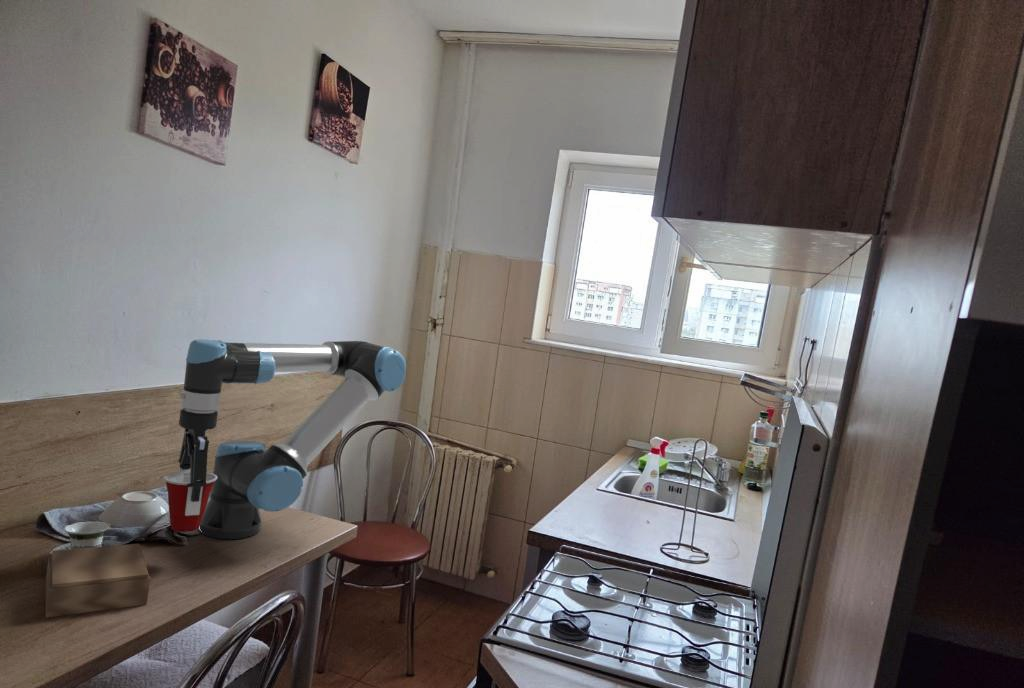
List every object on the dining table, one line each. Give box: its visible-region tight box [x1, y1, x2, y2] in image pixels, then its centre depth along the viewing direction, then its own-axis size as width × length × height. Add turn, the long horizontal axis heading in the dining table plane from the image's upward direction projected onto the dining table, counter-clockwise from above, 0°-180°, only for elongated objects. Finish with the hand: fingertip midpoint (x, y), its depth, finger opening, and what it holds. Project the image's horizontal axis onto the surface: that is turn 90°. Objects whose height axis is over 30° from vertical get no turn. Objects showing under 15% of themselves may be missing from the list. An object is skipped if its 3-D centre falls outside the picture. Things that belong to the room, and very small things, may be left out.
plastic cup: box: [163, 471, 218, 533], centre depth 141 cm, size 11×11×12 cm
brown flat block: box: [45, 543, 151, 618], centre depth 125 cm, size 16×16×6 cm
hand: (187, 505), depth 141 cm, fingers closed on plastic cup, 11 cm apart
